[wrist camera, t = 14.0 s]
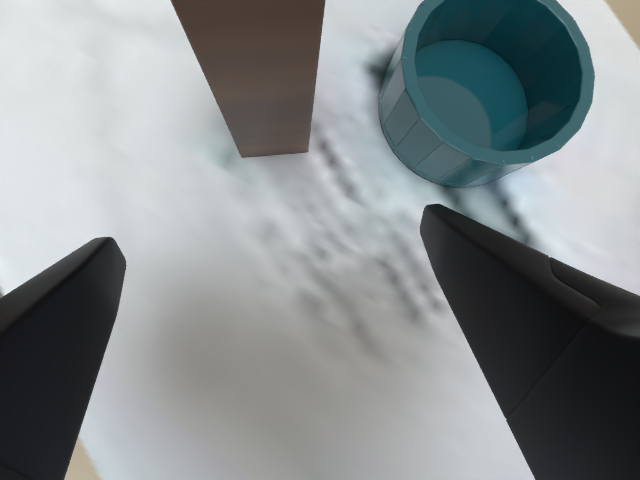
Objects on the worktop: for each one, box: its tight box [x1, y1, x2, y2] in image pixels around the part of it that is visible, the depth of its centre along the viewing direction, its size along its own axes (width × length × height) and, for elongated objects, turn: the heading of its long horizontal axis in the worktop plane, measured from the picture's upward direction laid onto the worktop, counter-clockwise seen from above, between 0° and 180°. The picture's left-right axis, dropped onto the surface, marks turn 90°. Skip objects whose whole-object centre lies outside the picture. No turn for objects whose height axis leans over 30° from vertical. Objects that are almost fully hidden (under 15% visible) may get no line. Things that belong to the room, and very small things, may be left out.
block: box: [171, 0, 325, 157], centre depth 13 cm, size 4×4×13 cm
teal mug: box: [379, 0, 595, 188], centre depth 19 cm, size 13×10×4 cm
